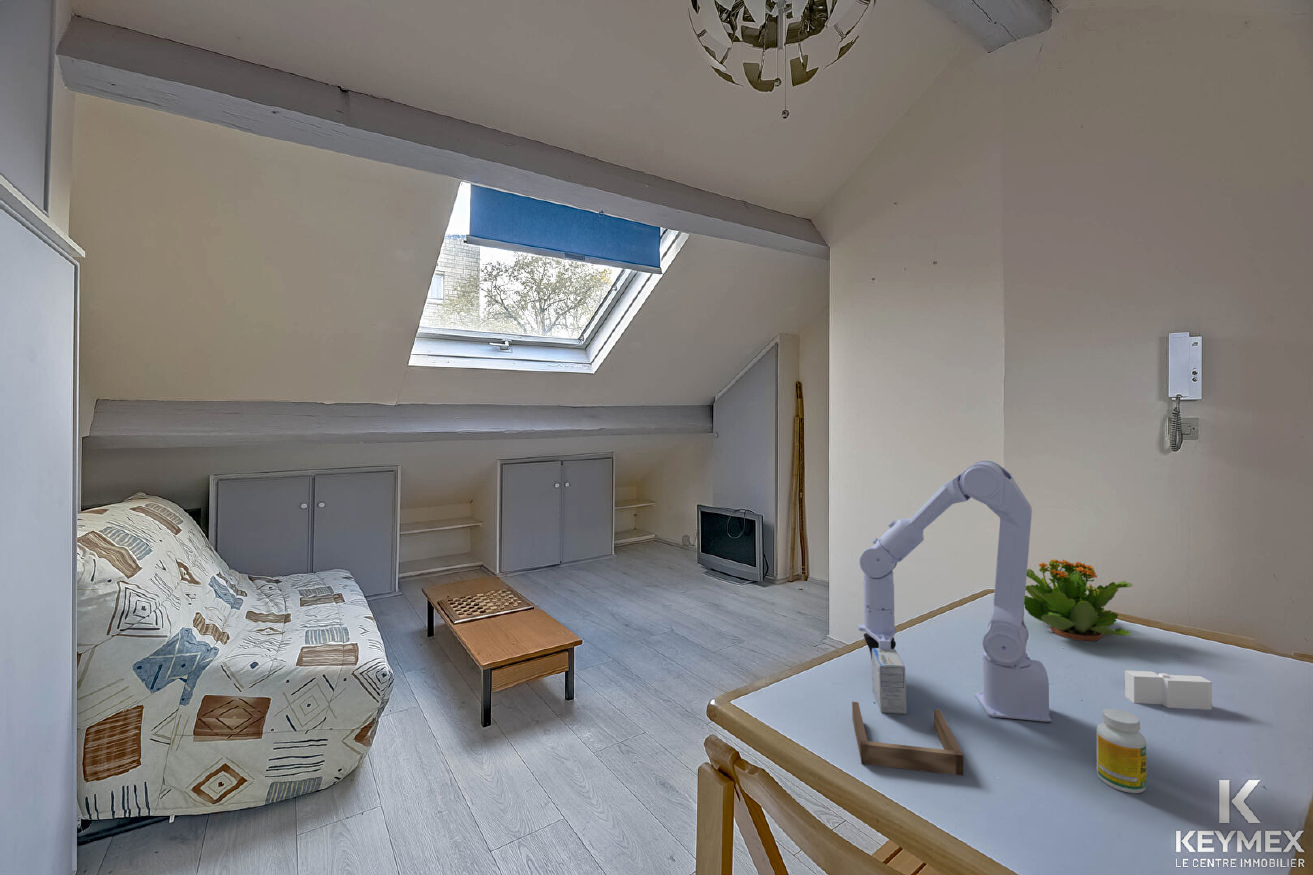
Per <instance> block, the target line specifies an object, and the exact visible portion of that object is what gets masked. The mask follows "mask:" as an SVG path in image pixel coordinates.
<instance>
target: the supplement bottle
mask: <svg viewBox="0 0 1313 875" xmlns="http://www.w3.org/2000/svg"><path fill="white" fill-rule="evenodd" d="M1140 729H1141V721H1140V718H1139V717H1138V716H1137V715H1135V714H1133V713H1131V712H1128V711H1126V710H1122V709H1118V708H1106V709H1103V710H1102V722H1101V723H1099V724H1098V725H1097V727H1096V774H1097V776H1098V778H1099V779H1100V780H1101V781H1102V782H1103V783H1105V784H1106V785H1107V786H1109V787H1111V788H1112V789H1115V790H1118V791H1121V792H1124V793H1129V794H1141V793H1143V792H1145V791H1146V789H1147V741H1146V738H1145V736H1144V735H1143V733H1141V731H1140Z"/></svg>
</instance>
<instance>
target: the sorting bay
mask: <svg viewBox="0 0 1313 875" xmlns="http://www.w3.org/2000/svg"><path fill="white" fill-rule="evenodd" d="M851 702H852V703H851V706H852V707H851V709H852V711H851V712H852V717H851V718H852V723H853V727H854V734H855V737H856V743H857V748H858V752H859V758H860V761H861V762H860V763H861V764H862V765H868V766H869V765H871V766H879V767H886V768H887V767H888V768H894V769H904V770H910V771H911V770H912V771H921V772H928V773H937V774H944V775H945V774H947V775H953V776H954V775H955V776H962V777H964V776H965V775H964V754H963V751H962V750H961V747H960V746H959V744H958V742H957V740H956V738H955V736H954V735H953V733H952V730H951V729H950V726H949V725H948V723H947V721H946V719H945V717H944V715H943V713H942V710H941V709H937V708H935V709H933V728H934V730H935V733H936V735H937V738H939V741H940V743H941V745H942V748H943V749H940V748H934V747H923V746H913V745H905V744H896V743H888V742H878V741H871V740H870V741H869V740H868V738H867V733H866V729H865V725H864V721H863V716H862V712H861V708H860V707H861V706H860V704H859V702H858V701H851Z"/></svg>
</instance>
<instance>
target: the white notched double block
mask: <svg viewBox="0 0 1313 875" xmlns="http://www.w3.org/2000/svg"><path fill="white" fill-rule="evenodd" d="M1212 684H1213V683H1212V681H1210V680H1208V679H1207V678H1204V677H1203V676H1202V675H1201V676H1200V675H1184V674H1183V675H1181V674H1168V673H1166V672H1159V673H1158V674H1157V673H1156V672H1154V671H1148V670H1144V671H1143V670H1124V697H1125V698H1126V699H1128V700H1129V701H1131V702H1132V703H1133V704H1147V705H1163V706H1164V707H1166V708H1169V709H1171V708H1172V709H1189V710H1191V709H1192V710H1211V711H1212V709H1213V701H1212V700H1213V696H1212V695H1213V691H1212V690H1213V688H1212V687H1213V685H1212Z"/></svg>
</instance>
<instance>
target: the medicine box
mask: <svg viewBox="0 0 1313 875" xmlns="http://www.w3.org/2000/svg"><path fill="white" fill-rule="evenodd" d="M871 670H872V671H871V675H872V676H871V677H872V678H871V681H872V683H871V684H872V693H873V695H874V697H875V699H876V700H875V701H876V702H877V705H878V707H879V710H880V713H886V714H899V715H900V714H901V715H902V714H903V715H907V689H906V687H907V686H906V683H907V682H906V666H905V665H904V663H903V661H902V659H901V657H900V655H899V654H898V652H897V650H896V649H895V648H894V649H891V650H883V649H879V648H872V660H871Z"/></svg>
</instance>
